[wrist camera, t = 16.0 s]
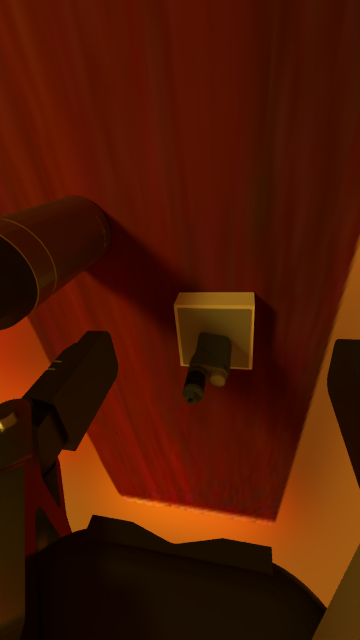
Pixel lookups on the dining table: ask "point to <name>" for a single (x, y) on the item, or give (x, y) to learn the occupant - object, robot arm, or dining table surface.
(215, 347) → the vaping device
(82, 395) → the robot arm
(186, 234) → the dining table surface
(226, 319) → the riser
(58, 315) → the dining table surface
